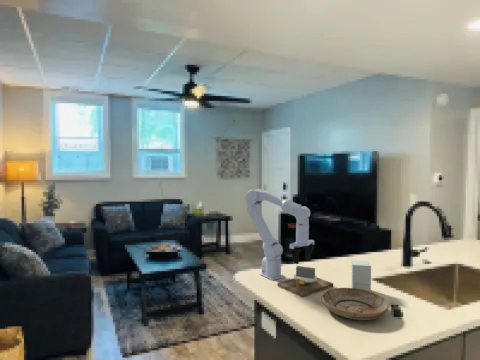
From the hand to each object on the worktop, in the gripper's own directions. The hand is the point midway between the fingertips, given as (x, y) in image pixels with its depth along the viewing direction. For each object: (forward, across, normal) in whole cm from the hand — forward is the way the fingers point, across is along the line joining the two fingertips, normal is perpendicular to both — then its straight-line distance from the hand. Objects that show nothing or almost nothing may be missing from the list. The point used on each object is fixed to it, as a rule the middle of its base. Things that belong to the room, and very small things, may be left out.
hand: (302, 261), depth 153 cm
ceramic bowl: (+10, -7, -33) cm, 35 cm away
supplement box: (+10, +12, -23) cm, 28 cm away
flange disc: (+6, -4, -6) cm, 9 cm away
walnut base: (+9, -3, -5) cm, 11 cm away
